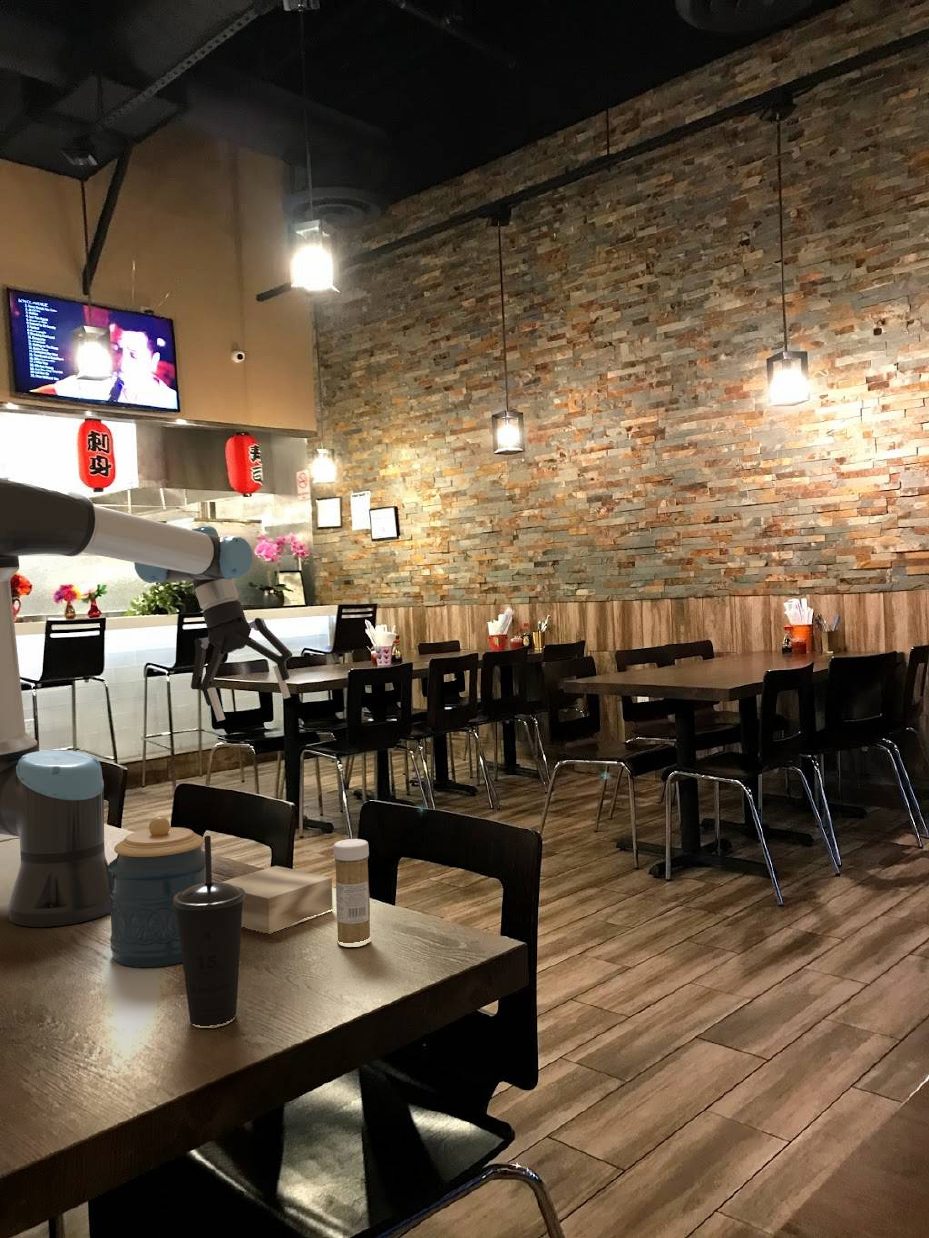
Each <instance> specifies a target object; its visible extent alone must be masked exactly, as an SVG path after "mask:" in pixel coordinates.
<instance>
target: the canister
mask: <svg viewBox="0 0 929 1238" xmlns="http://www.w3.org/2000/svg"><path fill="white" fill-rule="evenodd" d="M170 825H171V824H170V821H169V820H168V818H167V817H166V816H155V817H154V818H152V819H151V820H150V822H149V825H148V829H143V830H138V831H135V832H132V833H129V834H128V835H126V836H125V838H124V839H123V840H121V841H120V842H118V843H117V844H115V845H114V848H113V850H114V853H116V854H117V856H116V858H115V859H113V860H112V861H111V862H109V863H108V871H109V872H110V873H111V874H112V875H113V882H112V888H111V889H110V890H109V897H110V906H111V912H110V925H111V926H110V927H111V928H110V929H111V930H110V931H111V932H110V933H111V934H110V938H109V942H110V951H111V952H112V953H111V954H112V959H113V960H114V961H115V962H116V963H117V964H118V963H119V964H120V965H123V966H127V967H134V968H157V967H158V968H159V967H166V966H172V965H178V964H181V963H182V964H183V960H182V953H181V945H180V937H179V929H178V921H177V913H176V907H175V906H174V905H173V897H174V896H175V895H176V894H178V893H180V892H182V891H184V890H186V889H187V888H189V887H191V886H194V885H196V884H200V883H204V882H206V876H205V849H203V847H202V846H203V845H205V842H204V837H203V836H201V835H199V834H197V833H195V832H194V831H193V830H192V829H190V828H186V827H175V826H174V827H172V826H170ZM212 859H213V857H212V856H211V861H212Z"/></svg>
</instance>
